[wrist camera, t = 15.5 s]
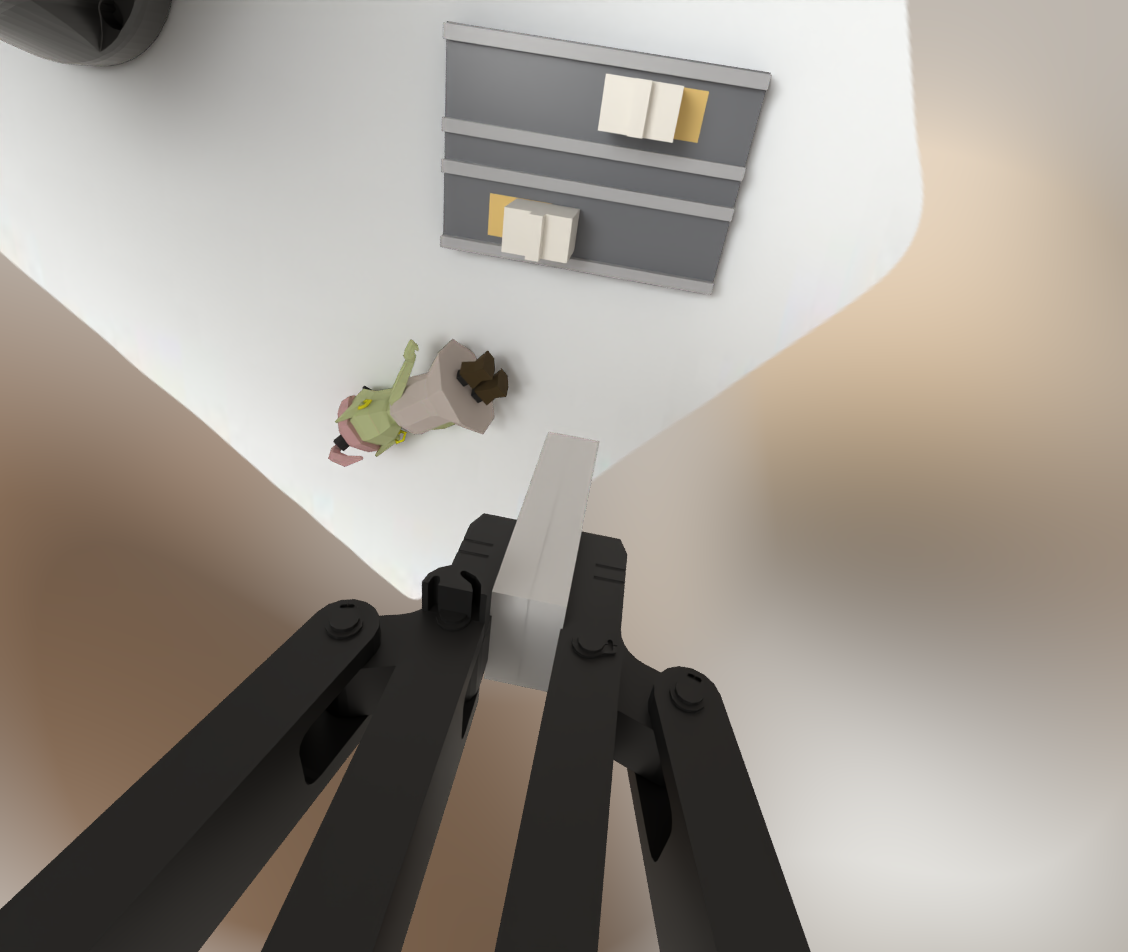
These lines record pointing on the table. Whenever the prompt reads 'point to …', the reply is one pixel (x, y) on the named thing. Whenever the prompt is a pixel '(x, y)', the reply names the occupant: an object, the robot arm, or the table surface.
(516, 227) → the tab
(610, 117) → the tab
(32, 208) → the table surface
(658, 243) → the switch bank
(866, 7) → the table surface
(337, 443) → the figurine
